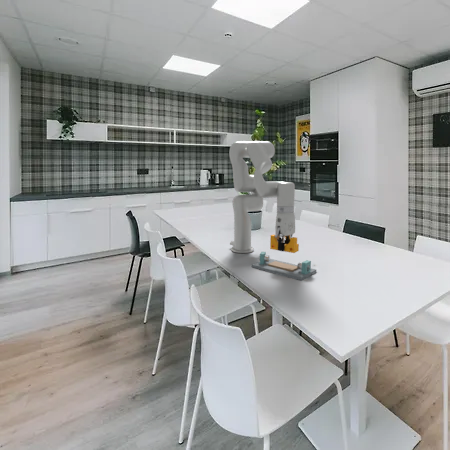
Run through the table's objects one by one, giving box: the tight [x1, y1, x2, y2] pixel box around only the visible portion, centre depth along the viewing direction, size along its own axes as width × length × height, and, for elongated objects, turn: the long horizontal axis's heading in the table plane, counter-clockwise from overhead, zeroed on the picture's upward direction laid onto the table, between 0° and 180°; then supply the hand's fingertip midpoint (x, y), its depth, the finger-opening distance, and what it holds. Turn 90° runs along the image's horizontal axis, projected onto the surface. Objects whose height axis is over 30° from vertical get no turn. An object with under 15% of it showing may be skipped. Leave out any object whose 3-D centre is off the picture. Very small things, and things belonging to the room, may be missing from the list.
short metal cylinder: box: [258, 254, 271, 262], centre depth 148 cm, size 4×3×3 cm, turn 73°
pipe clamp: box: [269, 234, 300, 254], centre depth 140 cm, size 12×4×6 cm, turn 52°
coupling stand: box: [251, 251, 317, 281], centre depth 142 cm, size 26×14×6 cm, turn 48°
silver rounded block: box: [296, 262, 310, 271], centre depth 135 cm, size 4×3×3 cm, turn 48°
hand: (284, 249), depth 140 cm, fingers closed on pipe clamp, 4 cm apart
